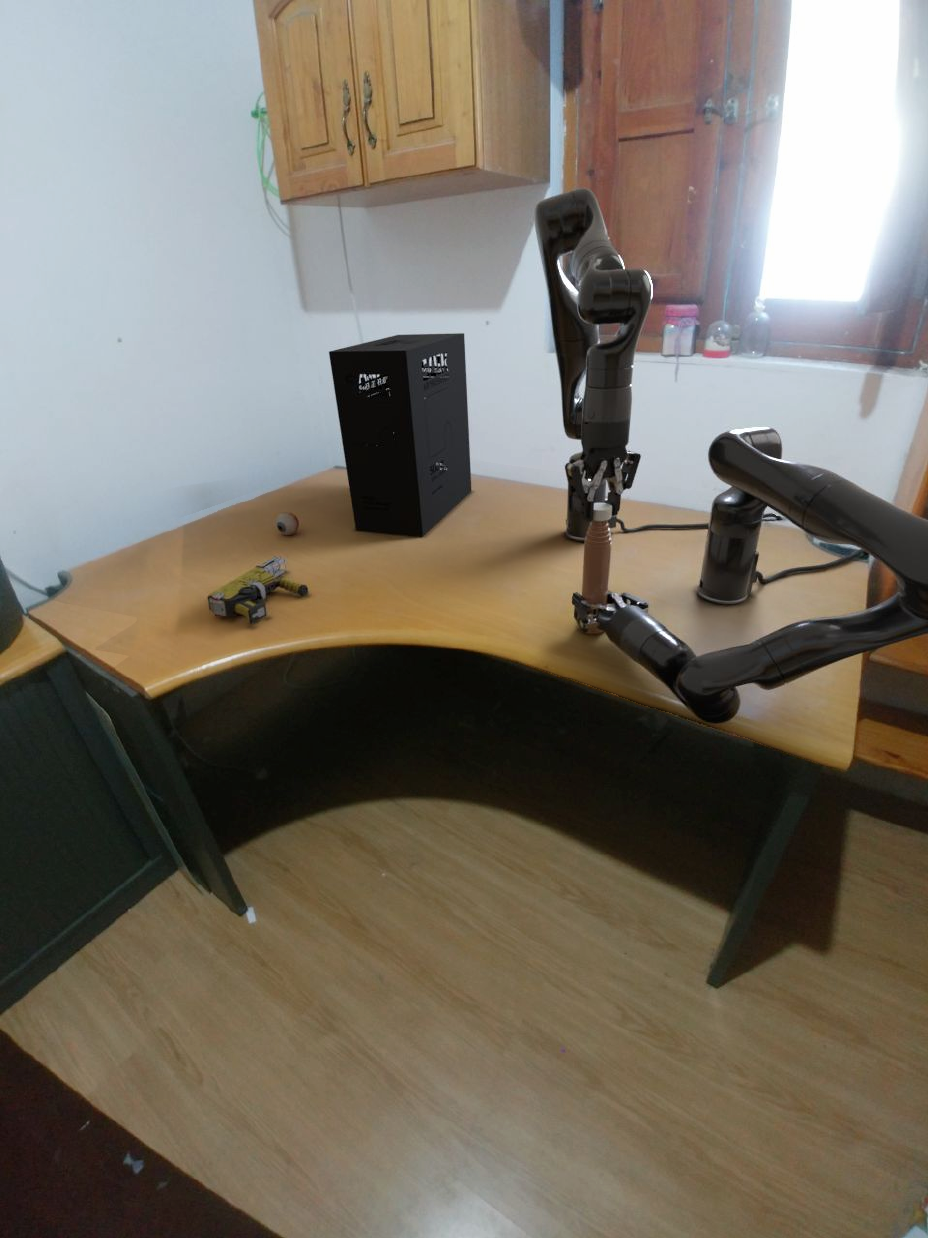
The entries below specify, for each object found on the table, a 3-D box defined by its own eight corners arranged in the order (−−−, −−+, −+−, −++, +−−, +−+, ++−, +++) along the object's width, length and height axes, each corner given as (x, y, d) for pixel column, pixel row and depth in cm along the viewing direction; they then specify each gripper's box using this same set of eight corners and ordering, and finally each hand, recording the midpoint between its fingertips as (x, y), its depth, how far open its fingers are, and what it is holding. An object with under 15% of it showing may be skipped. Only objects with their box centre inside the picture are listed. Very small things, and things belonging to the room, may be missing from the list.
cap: (615, 515, 104) (616, 504, 103) (604, 522, 101) (605, 511, 100) (595, 511, 106) (595, 501, 105) (583, 518, 104) (584, 507, 103)
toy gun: (328, 564, 138) (272, 553, 142) (265, 610, 118) (201, 595, 122) (329, 583, 141) (274, 571, 145) (267, 631, 121) (205, 616, 125)
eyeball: (273, 537, 164) (268, 516, 161) (287, 528, 169) (282, 508, 166) (291, 539, 161) (286, 518, 158) (305, 530, 166) (301, 510, 163)
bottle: (609, 626, 115) (619, 506, 103) (597, 636, 112) (606, 515, 100) (587, 619, 118) (594, 502, 106) (575, 629, 115) (581, 510, 103)
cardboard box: (412, 487, 195) (398, 334, 173) (471, 491, 189) (464, 333, 166) (355, 529, 165) (328, 351, 143) (423, 536, 159) (406, 350, 136)
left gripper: (627, 405, 101) (619, 503, 109) (554, 417, 96) (552, 518, 104) (658, 412, 95) (647, 515, 103) (582, 425, 90) (577, 532, 98)
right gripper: (601, 665, 100) (552, 619, 114) (673, 645, 104) (617, 603, 118) (604, 626, 96) (553, 583, 110) (679, 607, 100) (620, 568, 114)
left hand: (599, 516), depth 104 cm, fingers open, 4 cm apart
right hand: (587, 594), depth 114 cm, fingers closed on bottle, 4 cm apart
